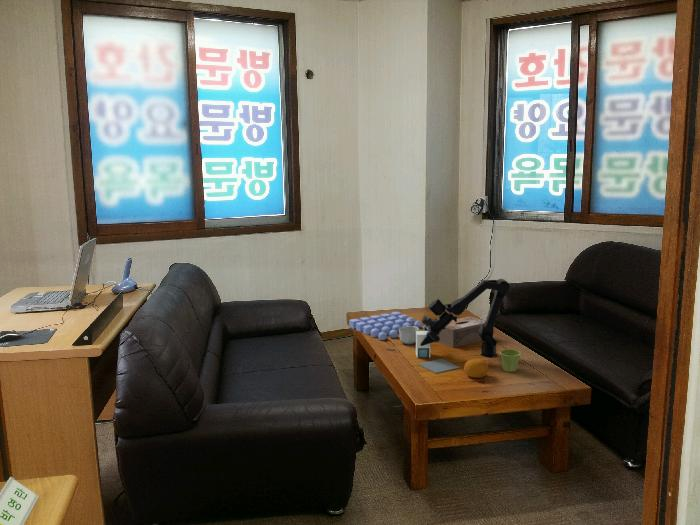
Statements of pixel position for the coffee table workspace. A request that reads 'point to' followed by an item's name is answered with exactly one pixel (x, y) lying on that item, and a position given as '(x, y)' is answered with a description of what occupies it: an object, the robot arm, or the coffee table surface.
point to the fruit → (476, 368)
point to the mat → (439, 366)
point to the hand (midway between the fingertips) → (420, 343)
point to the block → (422, 352)
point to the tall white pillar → (419, 338)
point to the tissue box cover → (461, 332)
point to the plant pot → (510, 359)
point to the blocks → (384, 324)
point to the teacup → (408, 334)
